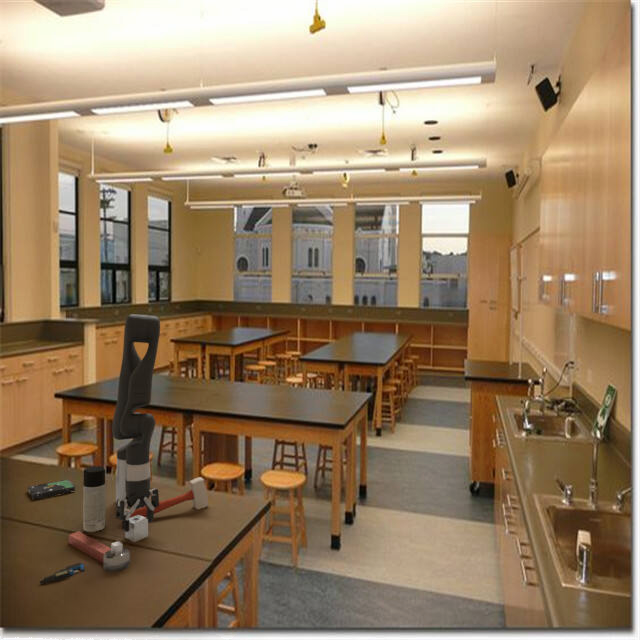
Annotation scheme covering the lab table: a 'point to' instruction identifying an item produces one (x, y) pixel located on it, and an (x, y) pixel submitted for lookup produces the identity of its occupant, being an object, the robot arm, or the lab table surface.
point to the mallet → (181, 498)
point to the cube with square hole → (137, 528)
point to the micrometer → (63, 573)
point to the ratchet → (102, 551)
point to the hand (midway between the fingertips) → (138, 526)
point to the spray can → (94, 499)
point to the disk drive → (50, 489)
